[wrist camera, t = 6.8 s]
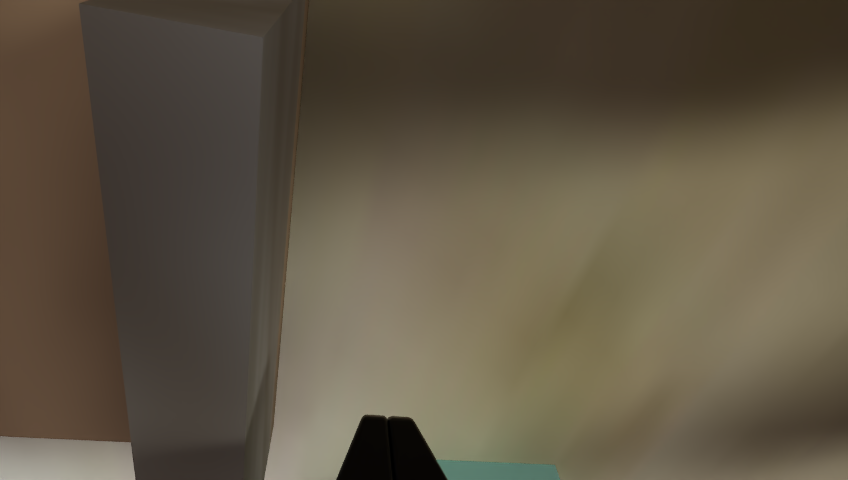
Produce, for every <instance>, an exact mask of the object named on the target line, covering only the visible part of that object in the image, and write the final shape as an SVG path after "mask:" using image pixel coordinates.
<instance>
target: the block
mask: <svg viewBox="0 0 848 480" xmlns="http://www.w3.org/2000/svg"><path fill="white" fill-rule="evenodd" d="M437 462H438V464H439V465H440V467H441V469H442V470H443V472H444V474H445V476H446V477H447V479H448V480H560V478H559V475H558V472H557V469H556V467H555V465H546V464H522V463H499V462H475V461H452V460H437Z"/></svg>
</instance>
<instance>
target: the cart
mask: <svg viewBox="0 0 848 480" xmlns="http://www.w3.org/2000/svg"><path fill="white" fill-rule="evenodd" d="M308 7H309V0H0V436H8V437H30V438H51V439H73V440H94V441H115V442H131V445H132V454H133V462H134V470H135V479H136V480H264V476H265V470H266V465H267V459H268V453H269V448H270V442H271V437H272V431H273V425H274V413H275V401H276V389H277V377H278V365H279V353H280V342H281V330H282V318H283V306H284V294H285V282H286V270H287V258H288V246H289V234H290V222H291V210H292V198H293V186H294V174H295V162H296V150H297V138H298V126H299V114H300V102H301V91H302V79H303V67H304V55H305V43H306V31H307V19H308Z"/></svg>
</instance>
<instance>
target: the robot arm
mask: <svg viewBox="0 0 848 480" xmlns="http://www.w3.org/2000/svg"><path fill="white" fill-rule="evenodd" d="M336 480H448V479H447V477H446V476H445V474H444V472H443V470H442V469H441V467H440V465H439V464H438V462H437V460H436V458H435V457H434V455H433V453H432V451H431V450H430V448H429V446H428V444H427V443H426V441H425V439H424V438H423V436H422V434H421V432H420V431H419V429H418V427H417V425H416V424H415V422H414V421H413V419H411V418H409V417H397V416H391V417H389V418H388V419H387V418H386V417H385V416H380V415H364V416H363V417H362V419H361V421H360V423H359V426H358V428H357V430H356V433H355V435H354V438H353V440H352V443H351V445H350V447H349V450H348V452H347V455H346V457H345V460H344V462H343V464H342V467H341V469H340V472H339V474H338V477H337V479H336Z"/></svg>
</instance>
